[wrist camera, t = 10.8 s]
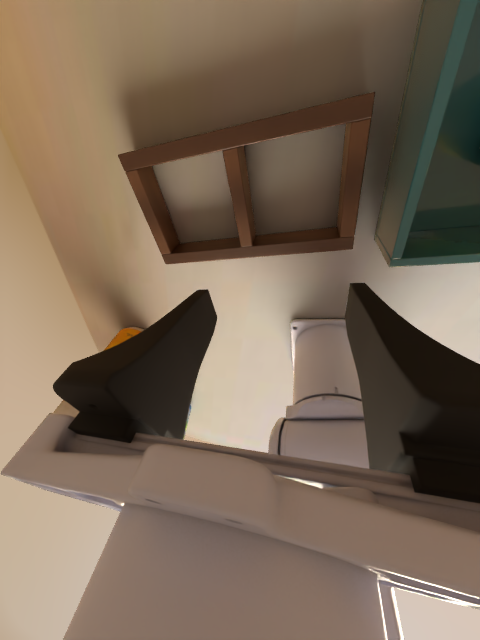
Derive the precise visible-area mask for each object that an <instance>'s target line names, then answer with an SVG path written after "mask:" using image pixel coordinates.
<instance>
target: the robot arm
mask: <svg viewBox="0 0 480 640" xmlns="http://www.w3.org/2000/svg"><path fill="white" fill-rule="evenodd" d="M216 321H217V315H216V312H215V309H214V306H213V303H212V300H211V297H210V294H209V291H208V290H197V291H196V292H194V293H193V294H192V295H190V296H189V297H188V298H187V299H185V300H184V301H183V302H182V303H181V304H179V305H178V306H177V307H176V308H174V309H173V310H172V311H171V312H169V313H168V314H167V315H165V316H164V317H163V318H161V319H160V320H159V321H157V322H156V323H154V324H153V325H151V326H150V327H148V328H147V329H145V330H143V331H142V332H140V333H139V334H137V335H135V336H133V337H131V338H129V339H127V340H126V341H124V342H122V343H120V344H118V345H116V346H114V347H111V348H109V349H107V350H105V351H102V352H100V353H98V354H95V355H92V356H90V357H87V358H85V359H82V360H79V361H76V362H73V363H72V364H71V365H70V366H69V367H68V368H67V370H65V371H64V373H63V374H62V375H61V376H60V377H59V378H58V379H57V380H56V382H55V383H54V384H53V389H54V391H55V392H56V394H57V395H59V396H60V397H61V398H62V399H63V400H65V401H66V402H67V403H69V404H70V405H71V406H73V407H74V408H75V409H77V410H78V411H79V413H78V415H77V416H76V417H72V416H70V415H64V414H58V413H49V415H48V416H47V417H46V418H45V419H44V420H43V422H42V423H41V424H40V426H38V428H37V429H36V430H35V431H34V433H33V434H32V435H31V436H30V437H29V439H28V440H27V441H26V442H25V443H24V445H23V446H22V447H21V448H20V450H19V451H18V452H17V453H16V454H15V456H14V457H13V458H12V459H11V460H10V462H9V463H8V464H7V465H6V466H5V468H4V469H3V470H2V471H1V474H2V475H4V476H7V477H10V478H13V479H15V480H18V481H21V482H24V483H27V484H30V485H33V486H36V487H38V488H41V489H44V490H47V491H51V492H54V493H58V494H61V495H65V496H68V497H72V498H75V499H79V500H82V501H86V502H89V503H93V504H96V505H100V506H103V507H106V508H110V509H113V510H117V511H120V514H119V517H118V519H117V521H116V523H115V525H114V528H113V530H112V532H111V534H110V536H109V539H108V541H107V543H106V545H105V548H104V550H103V552H102V554H101V557H100V559H99V561H98V563H97V565H96V567H95V570H94V572H93V574H92V576H91V579H90V581H89V583H88V585H87V587H86V590H85V592H84V594H83V597H82V599H81V601H80V603H79V605H78V607H77V610H76V612H75V614H74V617H73V619H72V621H71V623H70V625H69V627H68V630H67V632H66V634H65V636H64V638H63V640H404V636H403V632H402V627H401V623H400V617H399V613H398V608H397V603H396V599H395V594H394V589H393V587H394V588H398V589H402V590H406V591H409V592H413V593H417V594H421V595H425V596H428V597H433V598H436V599H440V600H444V601H448V602H452V603H455V604H460V605H464V606H467V607H471V608H475V609H479V610H480V364H478V363H476V362H474V361H472V360H470V359H468V358H466V357H464V356H462V355H460V354H458V353H456V352H454V351H453V350H451V349H449V348H447V347H446V346H444V345H442V344H440V343H439V342H437V341H435V340H434V339H432V338H430V337H429V336H427V335H426V334H424V333H423V332H421V331H420V330H418V329H417V328H415V327H414V326H413V325H411V324H410V323H409V322H407V321H406V320H405V319H403V318H402V317H401V316H400V315H398V314H397V313H396V312H395V311H394V310H392V309H391V308H390V307H389V306H388V305H387V304H386V303H385V302H384V301H383V300H381V299H380V298H379V297H378V296H377V295H376V294H375V293H374V292H373V291H372V290H371V289H370V288H369V287H368V286H367V285H366V284H365V283H350V287H349V293H348V300H347V307H346V313H345V319H294V320H292V321H291V323H290V327H291V345H292V362H293V371H294V385H293V405H292V406H287V407H286V417H284V418H280V419H278V421H277V422H276V424H275V426H274V427H273V429H272V432H271V435H270V440H269V450H268V453H264V452H258V451H252V450H245V449H239V448H232V447H226V446H220V445H213V444H207V443H200V442H194V441H187V440H183V439H184V433H185V427H186V422H187V417H188V412H189V407H190V402H191V398H192V394H193V390H194V386H195V382H196V379H197V375H198V372H199V369H200V366H201V363H202V361H203V358H204V356H205V353H206V351H207V348H208V346H209V343H210V341H211V338H212V336H213V333H214V329H215V325H216ZM294 326H296V327H294Z"/></svg>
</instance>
